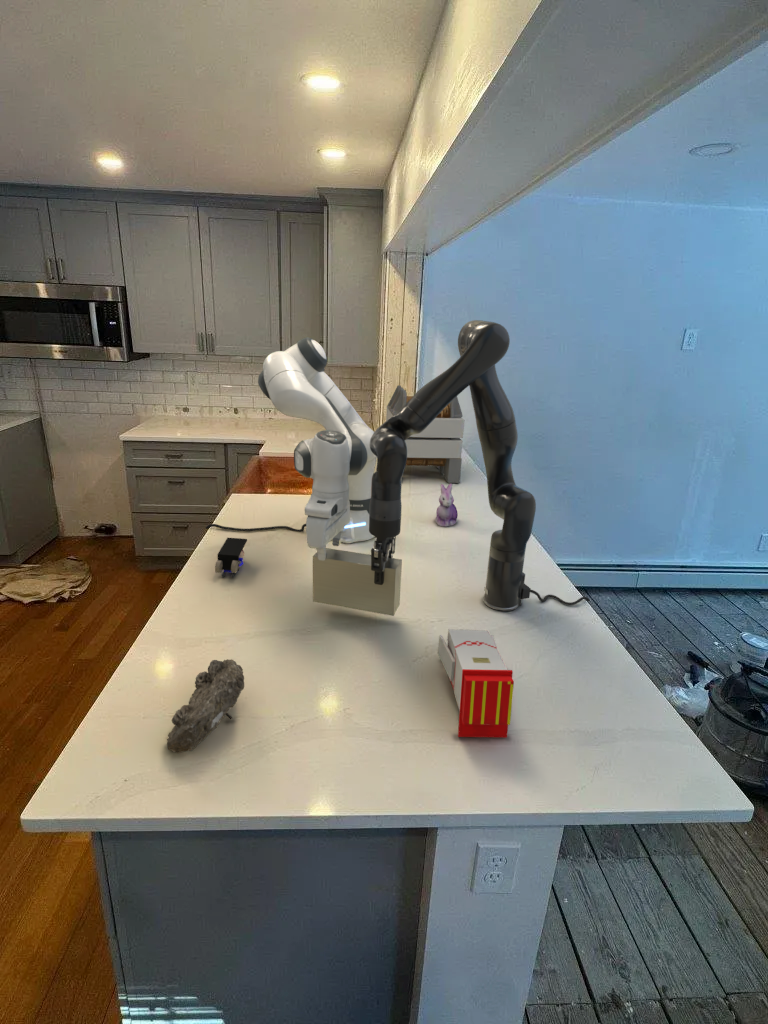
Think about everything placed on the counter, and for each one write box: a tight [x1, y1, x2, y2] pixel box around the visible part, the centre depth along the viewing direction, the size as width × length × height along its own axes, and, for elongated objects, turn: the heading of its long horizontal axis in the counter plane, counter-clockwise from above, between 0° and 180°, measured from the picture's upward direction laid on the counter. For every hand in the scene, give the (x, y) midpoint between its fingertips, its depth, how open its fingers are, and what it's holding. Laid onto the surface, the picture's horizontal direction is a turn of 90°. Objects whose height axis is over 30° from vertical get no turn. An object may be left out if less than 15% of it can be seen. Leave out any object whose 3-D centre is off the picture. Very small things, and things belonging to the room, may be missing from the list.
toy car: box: [214, 537, 248, 578], centre depth 166 cm, size 7×8×15 cm
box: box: [312, 547, 403, 617], centre depth 142 cm, size 21×6×13 cm, turn 74°
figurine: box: [434, 483, 459, 527], centre depth 210 cm, size 9×10×15 cm
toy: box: [437, 628, 515, 738], centre depth 117 cm, size 12×13×30 cm
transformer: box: [385, 384, 465, 484], centre depth 268 cm, size 34×33×41 cm
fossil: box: [166, 658, 245, 754], centre depth 106 cm, size 22×10×15 cm
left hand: (329, 551), depth 141 cm, fingers open, 8 cm apart
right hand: (382, 577), depth 140 cm, fingers closed on box, 6 cm apart
